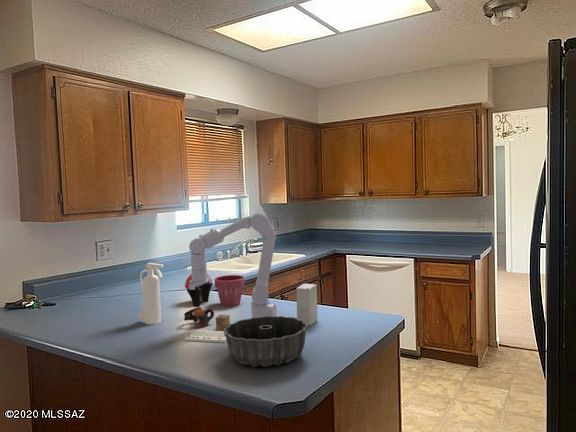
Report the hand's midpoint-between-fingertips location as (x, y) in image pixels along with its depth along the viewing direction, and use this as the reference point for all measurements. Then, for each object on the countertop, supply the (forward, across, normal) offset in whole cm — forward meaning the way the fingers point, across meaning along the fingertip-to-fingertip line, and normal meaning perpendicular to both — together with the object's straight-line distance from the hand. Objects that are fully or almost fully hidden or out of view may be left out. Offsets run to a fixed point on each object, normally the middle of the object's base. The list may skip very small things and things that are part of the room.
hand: (201, 304), depth 173 cm
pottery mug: (+10, -6, -4) cm, 12 cm away
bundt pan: (+10, +25, +34) cm, 43 cm away
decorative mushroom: (+10, -42, -21) cm, 48 cm away
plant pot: (+10, -40, -4) cm, 41 cm away
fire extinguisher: (+10, -7, -26) cm, 29 cm away
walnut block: (+10, -2, +8) cm, 13 cm away
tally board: (+10, +9, +7) cm, 15 cm away
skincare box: (+10, -14, +39) cm, 43 cm away
